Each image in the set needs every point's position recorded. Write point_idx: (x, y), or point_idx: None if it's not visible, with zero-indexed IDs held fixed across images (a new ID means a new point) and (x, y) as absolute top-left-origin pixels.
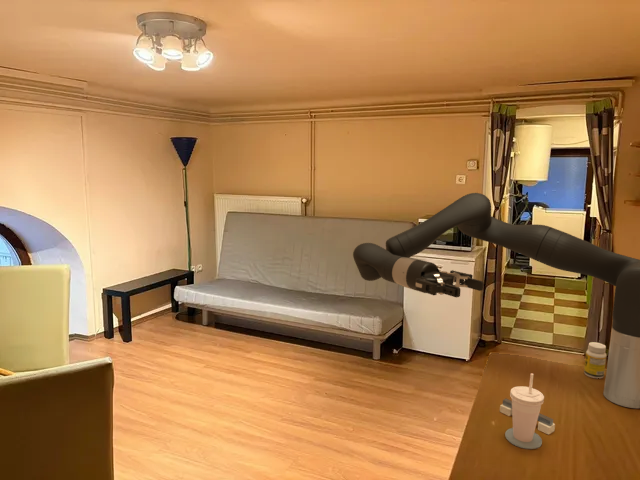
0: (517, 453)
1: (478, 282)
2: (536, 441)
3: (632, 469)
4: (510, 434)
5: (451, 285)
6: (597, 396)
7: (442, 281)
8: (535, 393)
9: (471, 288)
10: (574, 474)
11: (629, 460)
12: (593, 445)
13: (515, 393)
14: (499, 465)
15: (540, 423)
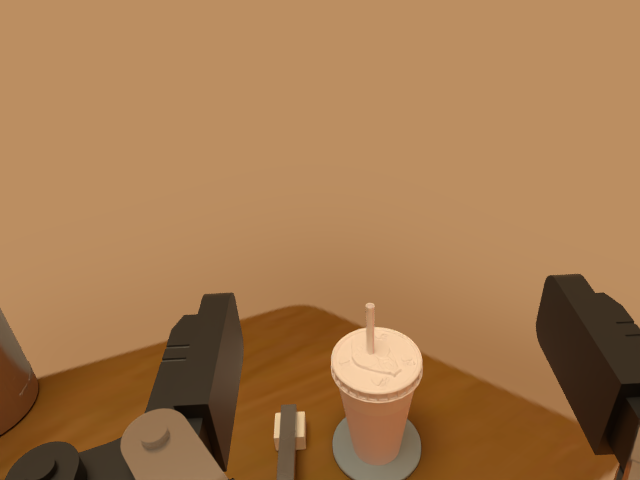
0: (439, 422)
1: (230, 319)
2: None
3: (292, 306)
4: (395, 467)
5: (598, 329)
6: (2, 450)
7: (636, 457)
8: (358, 344)
9: (231, 428)
10: None
11: (268, 316)
12: (268, 361)
13: (404, 373)
14: (515, 419)
15: (303, 432)
